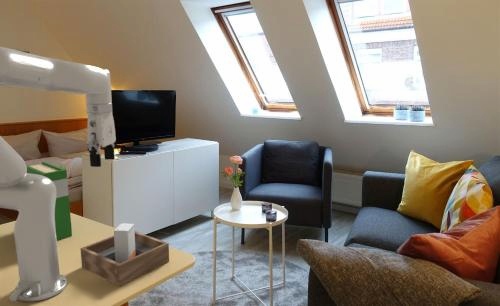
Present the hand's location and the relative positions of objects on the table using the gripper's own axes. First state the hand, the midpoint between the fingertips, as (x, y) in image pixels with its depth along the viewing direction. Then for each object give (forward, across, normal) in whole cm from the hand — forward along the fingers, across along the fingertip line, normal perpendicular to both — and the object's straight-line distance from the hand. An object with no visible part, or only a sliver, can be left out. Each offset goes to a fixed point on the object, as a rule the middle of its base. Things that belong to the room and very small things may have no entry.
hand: (103, 162), depth 130 cm
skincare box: (+28, -12, -11) cm, 33 cm away
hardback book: (+29, +8, +25) cm, 39 cm away
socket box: (+28, -12, -11) cm, 33 cm away
